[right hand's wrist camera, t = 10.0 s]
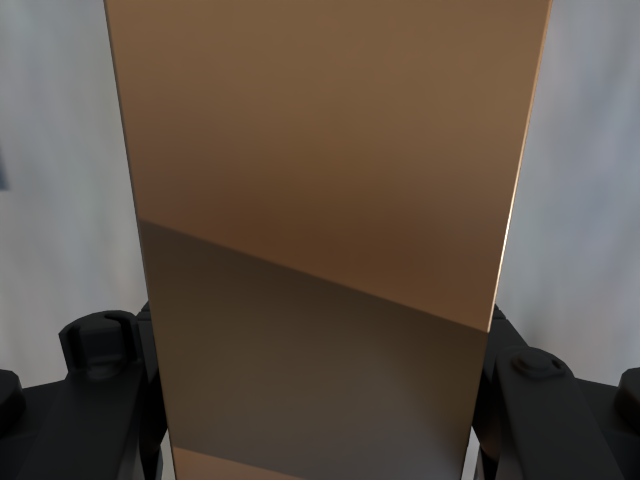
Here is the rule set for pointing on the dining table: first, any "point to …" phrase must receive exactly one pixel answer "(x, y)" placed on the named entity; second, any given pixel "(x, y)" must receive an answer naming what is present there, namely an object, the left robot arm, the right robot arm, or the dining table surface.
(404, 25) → the board
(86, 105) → the dining table surface
